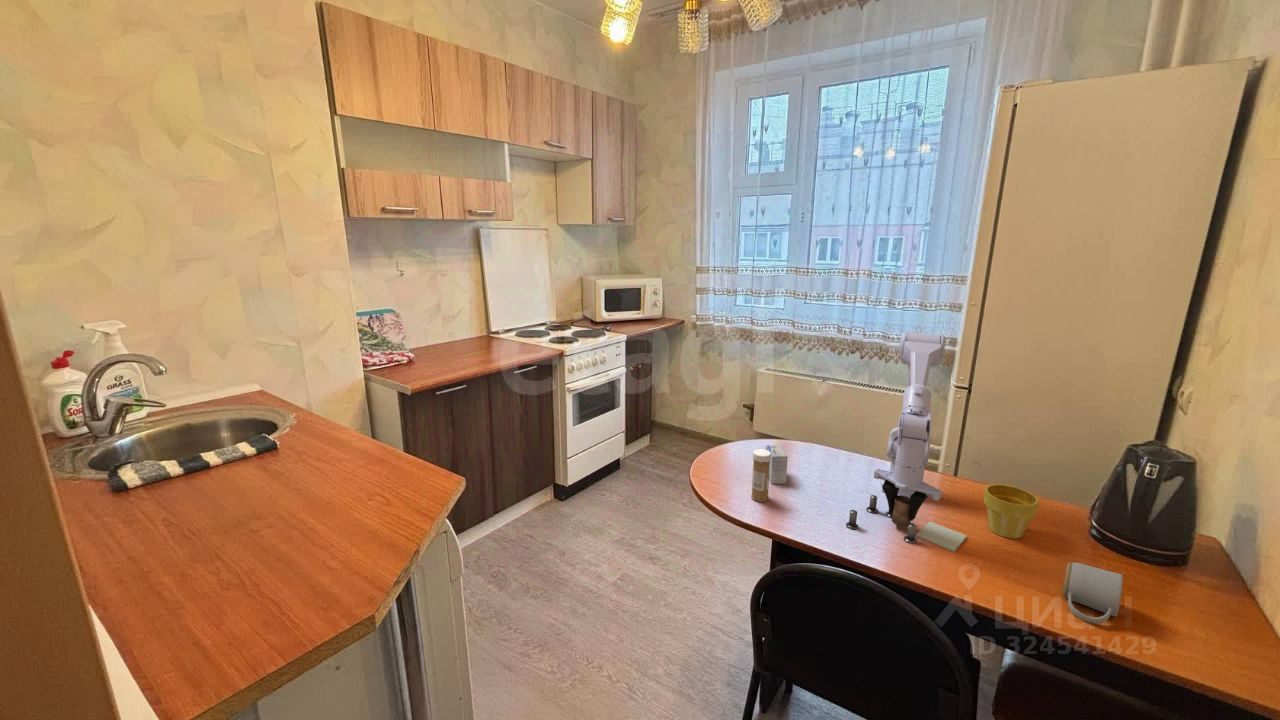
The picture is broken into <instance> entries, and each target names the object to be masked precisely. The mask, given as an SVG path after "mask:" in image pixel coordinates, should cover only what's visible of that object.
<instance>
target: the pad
mask: <svg viewBox="0 0 1280 720" xmlns="http://www.w3.org/2000/svg"><path fill="white" fill-rule="evenodd" d="M967 536H968V535H966V534H963V533H962V532H958V531H957V530H954V529H951V528H948V527H946V526H943V525H940V524H938V523H935V522H932V521H929V522H928V523H926V525H924V526H923V527H922V528H921V529H920V530H919V531H918V532H917V533H916V537H917V538H920V539H922V540H924V541H927V542H929V543H932V544H934V545H936V546H939V547H941V548H944V549H946V550H948V551H951V552H954V553H955V551H957V550H958V549H959V547H961V545H962V544H963V543H964V541H965V540H966V539H967V538H968V537H967Z"/></svg>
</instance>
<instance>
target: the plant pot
mask: <svg viewBox="0 0 1280 720" xmlns="http://www.w3.org/2000/svg"><path fill="white" fill-rule="evenodd" d="M983 503H984V505H986V513H987V524H988V525H987V527H988V528H989V530H990V531H991V532H993V533H994V534H996V535H998V536H1000V537H1003V538H1005V539H1006V538H1008V539H1014V540H1015V539H1020V538H1022V537H1023V535H1024V533H1025V531H1026V529H1027V528H1028V525H1029V524H1030V522H1031V520H1032V518H1034V517H1035V516H1036V515H1037V512H1038V509H1039V505H1040V504H1039V503H1040V501H1039V498H1038V497H1037V496H1036V495H1034V493H1032V492H1030V491H1028V490H1026V489H1024V488H1021V487H1019V486H1013V485H1010V484H1002V483H993V484H992V483H991V484H988V485H987V486H986V487H985V489H984V493H983Z"/></svg>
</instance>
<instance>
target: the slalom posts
mask: <svg viewBox="0 0 1280 720" xmlns="http://www.w3.org/2000/svg"><path fill="white" fill-rule="evenodd" d="M877 504H878V496H877V495H875V494H871V495H870V498H869V506H868V507H866V512H868V513H869V514H872V515H873V514H874V515H875V514H879V509H878V508H877ZM892 515H893V512H892V513H891V512H889V510H888V511H886V512H885V516H886V517H888V518H890V519H892ZM857 516H858V511H857V510H854V509H851V510H849V518H848V519H849V520H848V522H846V524H845V526H846V528H848V529H849V530H853V531H854V530H855V531H856V530H859V525H858V524H857V518H858V517H857ZM916 532H917V524H915V523H914V522H913V523H912V522H911V523H909V526H908V528H907V533H906V535H904V536H903V541H905V542H906V543H907V544H911V545H916V544H918V539H917V538H916V534H917V533H916Z"/></svg>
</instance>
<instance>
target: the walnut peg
mask: <svg viewBox="0 0 1280 720" xmlns="http://www.w3.org/2000/svg"><path fill="white" fill-rule="evenodd" d="M910 507H911V500H910V498H909V497H907V496H902V495H898V496H895V498H894V507H893V515H892V518H891V522H892V523H893V524H895V525H896V526H898V527H906V528H907V527H908V526H909V523H912V521H911V520H909V513H910Z"/></svg>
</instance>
